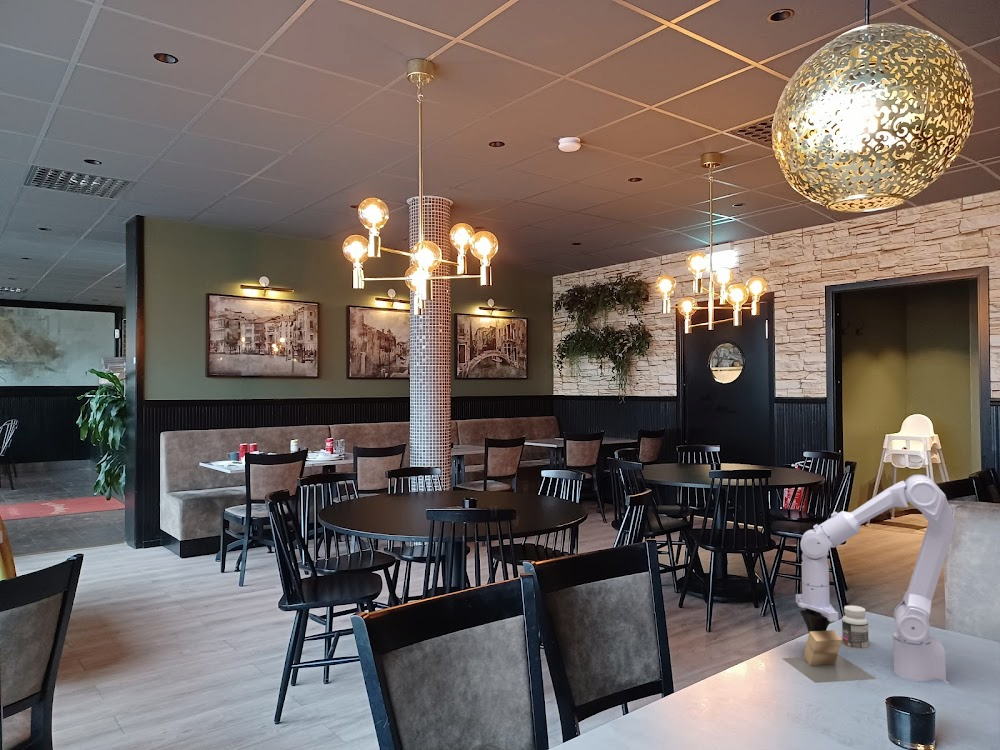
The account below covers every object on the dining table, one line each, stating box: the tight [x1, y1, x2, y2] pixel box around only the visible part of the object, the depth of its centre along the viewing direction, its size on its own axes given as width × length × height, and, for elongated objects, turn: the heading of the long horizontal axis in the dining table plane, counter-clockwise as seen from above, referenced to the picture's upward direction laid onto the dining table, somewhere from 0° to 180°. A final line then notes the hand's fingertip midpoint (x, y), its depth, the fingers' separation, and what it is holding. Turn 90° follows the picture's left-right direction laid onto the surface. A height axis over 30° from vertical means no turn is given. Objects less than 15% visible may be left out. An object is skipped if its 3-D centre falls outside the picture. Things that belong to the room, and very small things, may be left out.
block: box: [803, 629, 843, 665], centre depth 161 cm, size 6×3×7 cm, turn 96°
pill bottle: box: [841, 605, 870, 649], centre depth 174 cm, size 6×6×10 cm
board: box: [781, 654, 878, 684], centre depth 159 cm, size 14×14×1 cm
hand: (817, 643), depth 163 cm, fingers closed
